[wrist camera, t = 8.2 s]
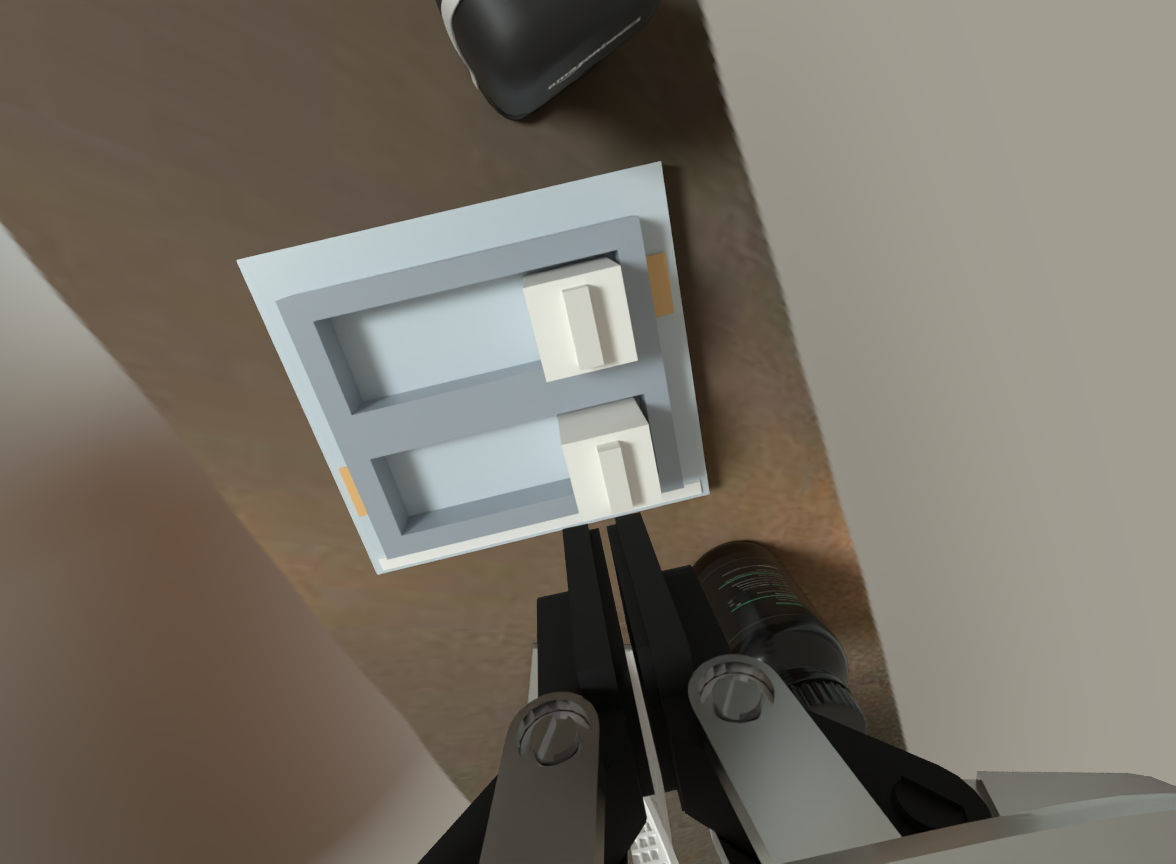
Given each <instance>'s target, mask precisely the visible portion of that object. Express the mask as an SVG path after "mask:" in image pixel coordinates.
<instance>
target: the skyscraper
mask: <svg viewBox="0 0 1176 864" xmlns="http://www.w3.org/2000/svg"><path fill="white" fill-rule="evenodd" d="M624 649H625V654H626V658H627V663H628V668H629V672H630V677H631V682H632V687H633V691H634V696H635V701H636V706H637V711H638V715H639V720H640V725H641V730H642V734H643V739H644V744H645V749H646V753H647V758H648V763H649V768H650V772H651V777H652V782H653V787H654V792H655V795H651V796H647V797H643V800H644V805H645V810H646V815H647V820H646V824H645V825H644V827H643V828H642V830H641V831H640V833H639V835H638V836H637V838H636V839H635V841H634V843H633V844H632V846H631V852H632V858H633V864H679V863H678V861H677V858H676V856H675V853H674V851H673V846H672V839H671V833H670V826H669V819H668V813H667V807H666V801H665V795H664V789H663V784H662V778H661V772H660V768H659V764H658V759H657V755H656V751H655V746H654V742H653V738H652V733H651V729H650V725H649V721H648V716H647V712H646V708H645V703H644V699H643V695H642V690H641V686H640V682H639V677H638V673H637V669H636V664H635V660H634V656H633V651H632V647H631V645H624ZM536 698H538V653H537V644H533V653H532V664H531V674H530V685H529V696H528V703H529V702H531V701H532V700H534V699H536Z"/></svg>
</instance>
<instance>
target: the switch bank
mask: <svg viewBox="0 0 1176 864" xmlns="http://www.w3.org/2000/svg"><path fill="white" fill-rule="evenodd" d="M601 256H605V257H607V258H609V259H610V260H612V261H614V262H616V263H617V264H619V265H620V266H621V272H622V277H623V283H624V288H625V293H626V299H627V304H628V310H629V315H630V320H631V326H632V331H633V337H634V342H635V348H636V353H637V358H638V361H634V362H630V363H626V364H621V365H617V366H613V367H609V368H605V369H600V370H596V371H592V372H588V373H584V374H580V375H575V376H571V377H567V378H563V379H559V380H554V381H550V382H546V378H545V374H544V370H543V366H542V362H541V359H540V355H539V351H538V347H537V343H536V339H535V335H534V331H533V327H532V324H531V320H530V316H529V312H528V308H527V304H526V300H525V296H524V292H523V275H525V274H529V273H533V272H538V271H542V270H546V269H550V268H555V267H559V266H563V265H567V264H572V263H576V262H580V261H584V260H588V259H593V258H597V257H601ZM236 261H237V263H238V265H239V267H240V270H241V272H242V274H243V276H244V278H245V281H246V283H247V285H248V287H249V290H250V292H251V294H252V296H253V299H254V301H255V303H256V305H257V307H258V310H259V312H260V314H261V316H262V319H263V321H264V323H265V325H266V327H267V330H268V332H269V334H270V336H271V339H272V341H273V343H274V345H275V348H276V350H277V352H278V354H279V356H280V359H281V361H282V363H283V365H284V368H285V370H286V372H287V374H288V376H289V379H290V381H291V383H292V385H293V388H294V390H295V392H296V394H297V397H298V399H299V401H300V403H301V405H302V408H303V410H304V412H305V414H306V417H307V419H308V421H309V423H310V426H311V428H312V430H313V432H314V434H315V437H316V439H317V441H318V443H319V446H320V448H321V450H322V452H323V454H324V457H325V459H326V461H327V463H328V466H329V468H330V470H331V472H332V475H333V477H334V479H335V481H336V483H337V486H338V488H339V490H340V492H341V495H342V497H343V499H344V501H345V503H346V506H347V508H348V510H349V512H350V515H351V517H352V519H353V521H354V524H355V526H356V528H357V530H358V532H359V535H360V537H361V539H362V541H363V544H364V546H365V548H366V550H367V552H368V555H369V557H370V559H371V561H372V564H373V566H374V568H375V570H376V573H377V575H378V574H382V573H386V572H390V571H394V570H399V569H403V568H407V567H411V566H415V565H419V564H423V563H427V562H432V561H436V560H440V559H444V558H448V557H452V556H456V555H460V554H464V553H469V552H473V551H477V550H481V549H485V548H489V547H493V546H497V545H502V544H506V543H510V542H514V541H518V540H522V539H526V538H530V537H535V536H539V535H543V534H547V533H551V532H555V531H559V530H563V529H564V528H569V527H573V526H578V525H583V524H588V523H592V522H596V521H601V520H605V519H609V518H613V517H617V516H621V515H625V514H629V513H634V512H638V511H642V510H646V509H650V508H654V507H658V506H662V505H666V504H671V503H675V502H679V501H683V500H687V499H691V498H695V497H699V496H704V495H708V494H710V493H709V486H708V479H707V472H706V466H705V459H704V452H703V445H702V438H701V431H700V425H699V418H698V411H697V404H696V397H695V390H694V384H693V377H692V370H691V363H690V356H689V349H688V342H687V336H686V329H685V322H684V315H683V308H682V301H681V295H680V288H679V281H678V274H677V267H676V260H675V254H674V247H673V240H672V233H671V226H670V219H669V213H668V206H667V199H666V192H665V185H664V178H663V171H662V165H661V161H659V162H654V163H650V164H646V165H641V166H637V167H633V168H629V169H624V170H620V171H616V172H612V173H607V174H603V175H599V176H594V177H590V178H586V179H582V180H577V181H573V182H569V183H564V184H560V185H556V186H552V187H547V188H543V189H539V190H535V191H530V192H526V193H522V194H517V195H513V196H509V197H505V198H500V199H496V200H492V201H487V202H483V203H479V204H475V205H470V206H466V207H462V208H458V209H453V210H449V211H445V212H440V213H436V214H432V215H428V216H423V217H419V218H415V219H410V220H406V221H402V222H398V223H393V224H389V225H385V226H381V227H376V228H372V229H368V230H363V231H359V232H355V233H351V234H346V235H342V236H338V237H333V238H329V239H325V240H321V241H316V242H312V243H308V244H304V245H299V246H295V247H291V248H286V249H282V250H278V251H274V252H269V253H265V254H261V255H256V256H252V257H248V258H244V259H239V260H236ZM632 396H633V398H634V400H635V401H636V403H637V405H638V407H639V409H640V410H641V412H642V414H643V416H644V417H645V419H646V421H647V423H648V424H649V429H650V435H651V440H652V446H653V451H654V456H655V462H656V467H657V473H658V478H659V483H660V489H661V494H662V499H663V501H658V502H654V503H650V504H646V505H642V506H638V507H634V508H633V509H632V510H628V511H624V512H620V513H616V514H612V513H609V514H605V515H601V516H597V517H592V518H588V519H584V520H581V519H580V515H579V511H578V507H577V503H576V499H575V496H574V492H573V488H572V484H571V480H570V476H569V472H568V468H567V464H566V461H565V457H564V453H563V449H562V445H561V438H560V431H559V424H558V418H557V414H561V413H566V412H570V411H574V410H578V409H582V408H586V407H591V406H595V405H599V404H603V403H607V402H611V401H616V400H620V399H624V398H628V397H632Z"/></svg>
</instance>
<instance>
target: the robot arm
mask: <svg viewBox="0 0 1176 864" xmlns="http://www.w3.org/2000/svg"><path fill="white" fill-rule="evenodd" d="M615 521H616V524H615V525H610V526H607V531H608V536H609V541H610V546H611V551H612V556H613V560H614V565H615V570H616V575H617V580H618V585H619V590H620V595H621V600H622V605H623V610H624V614H625V619H626V624H627V629H628V634H629V638H630V643H631V647H632V651H633V656H634V660H635V664H636V669H637V673H638V677H639V682H640V686H641V690H642V695H643V699H644V703H645V708H646V712H647V716H648V721H649V725H650V729H651V733H652V738H653V742H654V746H655V751H656V755H657V759H658V764H659V768H660V772H661V777H662V781H663V785H664V789H665V792H669V791H673V790H677V792H678V796H679V800H680V803H681V807H682V811H685V813H686V814H688V815H689V816H691V817H692V818H694V819H695V820H697V821H699V822H700V823H702V824H703V825H705V826H706V827H708V828H709V829H710V833H711V836H712V840H713V843H714V846H715V848H716V850H717V852H718V855H719V857H720V859H721V861H722V864H1176V786H1174V785H1171V784H1168V783H1166V782H1163V781H1160V780H1158V779H1155V778H1153V777H1149V776H1143V775H1136V774H1130V773H1072V772H986V771H978V772H977V779H976V780H962V779H960V777H958V776H957V775H955V774H953V773H952V772H950V771H948V770H946V769H944V768H943V767H940V766H939V765H937V764H934V763H932V762H930V761H927V760H925V759H922V758H920V757H918V756H915V755H913V754H910V753H908V752H906V751H904V750H901V749H899V748H897V747H894V746H892V745H890V744H887V743H885V742H883V741H880V740H878V739H875V738H873V737H871V736H868V735H866V734H864V733H861V732H859V731H857V730H854V729H852V728H850V727H847V726H845V725H843V724H840V723H838V722H836V721H833V720H831V719H828V718H826V717H824V716H821V715H819V714H817V713H814V712H812V711H810V710H807V709H805V708H803V707H802V705H801V704H800V703H799V701H798V700H797V699H796V698H795V696H794V695H793V694H792V692H791V691H790V690H789V688H788V687H787V686H786V684H785V683H784V682H783V680H782V679H781V678H780V677H779V675H778V674H777V673H776V672H775V671H774V670H773V669H772V668H771V667H770V666H769V665H767V664H765V663H763V662H761V661H760V660H758V659H756V658H752V657H749V656H745V655H733V654H732V651H731V649H730V647H729V645H728V643H727V641H726V638H725V636H724V634H723V632H722V630H721V628H720V625H719V623H718V621H717V619H716V617H715V615H714V612H713V610H712V608H711V606H710V604H709V602H708V599H707V597H706V595H705V593H704V591H703V589H702V586H701V584H700V582H699V580H698V578H697V576H696V573H695V571H694V569H693V568H692V566H691V565H688V566H683V567H678V568H674V569H669V570H665V571H661V568H660V565H659V563H658V560H657V557H656V554H655V552H654V549H653V546H652V544H651V541H650V538H649V535H648V533H647V530H646V527H645V525H644V522H643V519H642V516H641V514H640V512H639V513H634V514H629V515H625V516H620V517H615ZM563 539H564V550H565V560H566V570H567V581H568V592H563V593H558V594H554V595H549V596H544V597H540V598H538V599H537V653H538V698H536V699H534V700H532V701H531V702H529V703H528V704H527V705H526V706H525V707H523V708H522V709H521V710H520V711H519V712H518V714H517V715H516V716H515V718H514V719H513V720H512V722H511V724H510V727H509V730H508V732H507V735H506V740H505V744H504V749H503V754H502V758H501V763H500V768H499V773H498V775H497V776H496V777H495V778H494V779H493V780H492V781H491V783H490V784H489V785H488V786H487V787H486V788H485V789H484V790H483V791H482V793H481V794H480V795H479V796H478V797H477V798H476V799H475V800H474V801H473V803H472V804H471V805H470V806H469V807H468V808H467V810H465V812H464V813H463V814H462V815H461V816H460V817H459V818H458V819H457V820H456V822H455V823H454V824H453V825H452V826H451V827H450V828H449V829H448V830H447V832H446V833H445V834H444V835H443V836H442V837H441V838H440V839H439V840H438V842H437V843H436V844H435V845H434V846H433V847H432V848H431V849H430V850H429V851H428V853H427V854H426V855H425V856H424V857H423V858H422V859H421V860H420V862H419V863H418V864H633V858H632V852H631V846H632V844H633V843H634V841H635V839H636V838H637V836H638V835H639V833H640V831H641V830H642V828H643V827H644V825H645V824H646V820H647V815H646V810H645V805H644V800H643V797H647V796H651V795H655V792H654V787H653V782H652V777H651V772H650V768H649V763H648V758H647V753H646V749H645V744H644V739H643V734H642V730H641V725H640V720H639V715H638V711H637V706H636V701H635V696H634V691H633V687H632V682H631V677H630V672H629V668H628V663H627V658H626V654H625V649H624V644H623V640H622V635H621V630H620V626H619V621H618V616H617V611H616V607H615V602H614V597H613V593H612V588H611V583H610V579H609V574H608V569H607V565H606V560H605V555H604V551H603V546H602V541H601V537H600V532H599V528H596V529H592V530H589V528H588V524H583V525H578V526H573V527H569V528H564V529H563Z"/></svg>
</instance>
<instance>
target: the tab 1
mask: <svg viewBox="0 0 1176 864" xmlns="http://www.w3.org/2000/svg"><path fill="white" fill-rule="evenodd" d="M523 292H524V296H525V300H526V304H527V308H528V312H529V316H530V320H531V324H532V327H533V331H534V335H535V339H536V343H537V347H538V351H539V355H540V359H541V362H542V366H543V370H544V374H545V378H546V382H550V381H554V380H559V379H563V378H567V377H571V376H575V375H580V374H584V373H588V372H592V371H596V370H600V369H605V368H609V367H613V366H617V365H621V364H626V363H630V362H634V361H638V358H637V353H636V348H635V342H634V337H633V331H632V326H631V320H630V315H629V310H628V304H627V299H626V293H625V288H624V283H623V277H622V272H621V266H620V265H619V264H617V263H616V262H614V261H612V260H610V259H609V258H607V257H605V256H601V257H597V258H593V259H588V260H584V261H580V262H576V263H572V264H567V265H563V266H559V267H555V268H550V269H546V270H542V271H538V272H533V273H529V274H525V275H523Z"/></svg>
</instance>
